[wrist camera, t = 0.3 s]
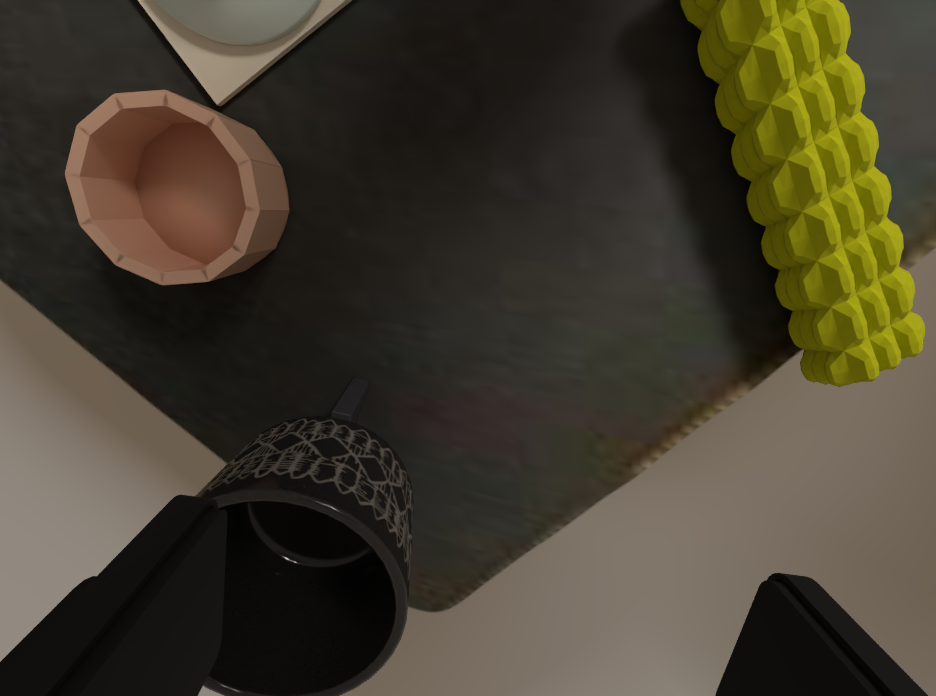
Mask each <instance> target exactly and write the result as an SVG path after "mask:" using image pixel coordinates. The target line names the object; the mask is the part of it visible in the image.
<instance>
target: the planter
mask: <svg viewBox="0 0 936 696" xmlns="http://www.w3.org/2000/svg"><path fill="white" fill-rule="evenodd" d="M369 383H370V381H369V380H365V379H361V378H356V377H354V378H353V380H352V381H351V383H350V384H349V386H348V387H347V389H346V390H345V392H344V394H343V395H342V397H341V398H340V400H339V401H338V403H337V404H336V406H335V408H334V409H333V411H332V414H331V417H324V416H311V417H301V418H296V419H291V420H288V421H285V422H282V423H280V424H277V425H274V426H273V427H271V428H269V429H267V430H265V431H264V432H262V433H261V434H260V435H258V436H257V437H256V438H254V439H253V440H252V441H251V442H250V443H249V444H247V445H246V446H245V447H244V448H243V449H242V450H241V451H240V452H239V453H238V454H237V455H236V456H235V457H234V458H233V459H232V460H231V461H230V462H229V463H228V464H227V465H226V466H225V467H224V468H223V469H222V470H221V471H220V472H219V473H218V474H217V475H216V476H215V477H214V478H213V479H212V480H211V481H210V482H209V483H208V484H207V485H206V486H205V487H204V488H203V489H202V490H201V491H200V492H199V493H198V494H197V495H196V496H195V497H201V498H209V499H214V500H216V501H217V504H218V509H220V510H225V511H226V512H227V538H226V559H225V580H224V601H223V621H222V639H221V645H220V649H219V652H218V655H217V658H216V661H215V663H214V665H213V667H212V669H211V671H210V673H209V675H208V677H207V679H206V680H205V682H204V684H203V686H204V687H206V688H208V689H210V690H212V691H215V692H217V693H219V694H221V695H224V696H340V695H342V694H344V693H346V692H348V691H351V690H353V689H355V688H356V687H358V686H359V685H361V684H362V683H364V682H365V681H367V680H369V679H370V678H371V677H372V676H373V675H374V674H375V673H377V672H378V671H379V670H380V669H381V668H382V667H383V666H384V665H385V663H386V662H387V661H388V659H389V658H390V657H391V656H392V654H393V653H394V651H395V649H396V647H397V645H398V644H399V642H400V640H401V637H402V634H403V631H404V628H405V624H406V620H407V610H408V597H409V579H410V561H411V543H412V525H413V507H414V502H413V490H412V486H411V482H410V478H409V475H408V473H407V471H406V469H405V467H404V464H403V463H402V461H401V460H400V458H399V457H398V455H397V454H396V452H395V451H394V450H393V449H392V448H391V447H390V446H389V445H388V444H387V443H386V442H385V441H384V440H383V439H381V438H380V437H379V436H377V435H376V434H375V433H373V432H371V431H370V430H368V429H366V428H364V427H363V426H360V425H358V424H356V423H357V420H358V416H359V414H360V411H361V408H362V405H363V402H364V400H365V397H366V395H367V392H368V387H369Z"/></svg>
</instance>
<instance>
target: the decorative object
mask: <svg viewBox="0 0 936 696" xmlns="http://www.w3.org/2000/svg"><path fill="white" fill-rule="evenodd" d="M680 3H681V7H682V10H683V12H684V14H685V16H686V18H687V20H688V21H689V22H691V23H693V24H694V25H695V26H696V27H697V28H699V29H700V30H701V31H702V33H701V35H700V39H699V43H698V55H699V60H700V65H701V67H702V69H703V71H704V73H705V75H706V76H707V77H709V78H711V79H713V80H714V81H715V82H717V83H718V84H719V87H718V90H717V93H716V97H715V107H716V112H717V116H718V118H719V120H720V122H721V124H722V126H723V127H725V128H726V129H728V130H730V131H732V132H733V133H734V134H736V136H735V138H734V141H733V145H732V148H731V155H732V160H733V165H734V167H735V169H736V171H737V173H738V174H739V175H740V176H742V177H744V178H746V179H747V180H749V181H751V185H750V188H749V191H748V194H747V198H746V200H747V205H748V210H749V212H750V214H751V216H752V218H753V220H754V221H755V222H757V223H759V224H761V225H763V226H766V228H765V232H764V235H763V238H762V241H761V247H762V252H763V255H764V257H765V259H766V261H767V263H768V264H769V265H771V266H773V267H774V268H776V269H779V273H778V278H777V280H776V283H775V290H776V295H777V297H778V299H779V301H780V303H781V305H782V306H784V307H785V308H787V309H789V310H792V314H791V319H790V322H789V324H788V329H789V335H790V337H791V339H792V341H793V343H794V344H795V345H796V346H798V347H800V348H802V349H804V353H803V357H802V359H801V362H800V365H801V371H802V372H803V375H804V376H805V378H806V379H807V380H809V381H812V382H820V383H823V384H832V385H834V386H838V387H841V386H844V385H849V384H852V383H857V382H863V381H865V382H872V381H873V380H875V379H876V377H877V376H878V375H879V372H880V371H883V370H885V369H894V368H896V366H898V364H899V363H900V361H901V359H903V358H906V357H915V356H916V355H918V354H919V353H920V351H921V350H922V348H923V337H924V335H925V325H924V323H923V321H922V319H921V317H920V316H919V315H917V314H915V313H913V312H910V311H911V308H912V307H913V302H912V300H913V298H914V295H915V285H914V281H913V279H912V277H911V275H910V273H909V272H907V271H905V270H904V269H902V268H900V267H899V263H900V259H901V253H902V250H903V248H904V246H903V235H902V233H901V231H900V228H899V226H898V225H896V224H894V223H893V222H891V221H890V220H889V219H888V218H887V213H888V208H889V204H890V201H891V199H892V198H891V186H890V183H889V181H888V179H887V177H886V175H885V174H883V173H881V172H880V171H879V170H878V169H876V168H875V167H874V162H875V157H876V152H877V150H878V148H879V142H878V133H877V130H876V128H875V126H874V124H873V122H872V121H871V120H869V119H867V118H866V117H865V116H864V115H863V114H862V113H861V112H860V109H861V104H862V99H863V96H864V94H865V82H864V76H863V73H862V71H861V69H860V67H859V65H858V64H857V63H855V62H853V61H852V60H851V59H850V57H849V56H848V55H847V54H846V53H845V52H846V47H847V43H848V40H849V37H850V34H851V28H850V17H849V15H848V13H847V10H846V8H845V6H844V4H842V3H841V2H840V1H838V0H680Z"/></svg>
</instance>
